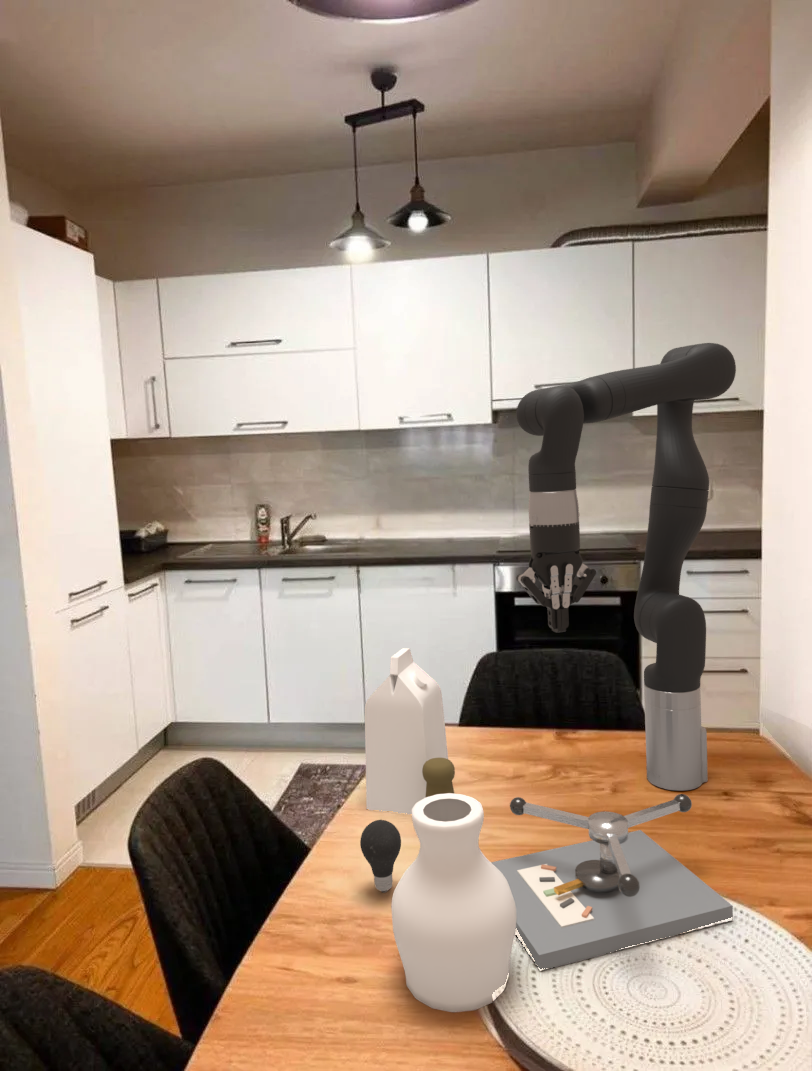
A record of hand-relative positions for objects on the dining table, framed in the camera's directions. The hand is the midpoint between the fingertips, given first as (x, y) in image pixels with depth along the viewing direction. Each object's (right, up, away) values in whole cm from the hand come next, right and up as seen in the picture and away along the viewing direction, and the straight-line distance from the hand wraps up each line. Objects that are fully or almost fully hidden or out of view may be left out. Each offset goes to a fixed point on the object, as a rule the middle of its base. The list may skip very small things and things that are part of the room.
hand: (558, 631), depth 116 cm
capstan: (+6, -30, -16) cm, 34 cm away
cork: (-18, -32, +4) cm, 37 cm away
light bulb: (-27, -35, -13) cm, 45 cm away
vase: (-18, -36, -30) cm, 50 cm away
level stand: (+2, -33, -17) cm, 37 cm away
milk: (-23, -31, +15) cm, 42 cm away
